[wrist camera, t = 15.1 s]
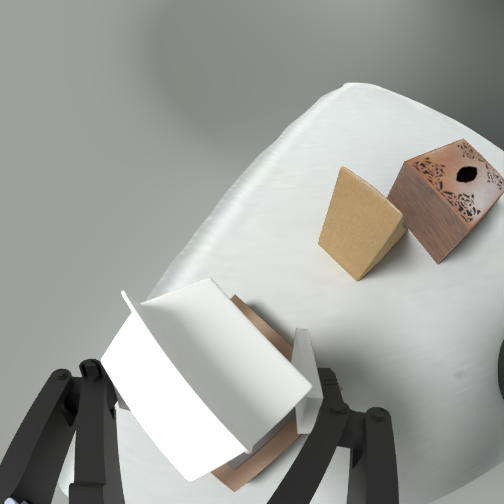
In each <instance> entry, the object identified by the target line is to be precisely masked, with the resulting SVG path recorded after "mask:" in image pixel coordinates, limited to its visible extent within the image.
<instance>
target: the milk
mask: <svg viewBox="0 0 504 504" xmlns="http://www.w3.org/2000/svg"><path fill="white" fill-rule="evenodd" d="M122 296H123V297H124V299H125V301H126V302H127V304H128V306H129V307H130V309H131V311H132V313H131V314H130V316H129V317H128V319H127V320H126V322H125V323H124V325H123V326H122V328H121V329H120V331H119V332H118V334H117V336H116V337H115V338H114V340H113V341H112V343H111V345H110V346H109V348H108V349H107V351H106V352H105V354H104V356H103V357H102V359H101V363H102V365H103V367H104V368H105V370H106V372H107V374H108V375H109V377H110V379H111V380H112V382H113V384H114V385H115V387H116V389H117V390H118V392H119V393H120V395H121V396H122V398H123V400H124V401H125V403H126V404H127V406H128V407H129V409H130V410H131V411H132V413H133V414H134V416H135V417H136V419H137V420H138V421H139V423H140V424H141V426H142V427H143V428H144V430H145V431H146V432H147V434H148V435H149V436H150V437H151V439H152V440H153V441H154V443H155V444H156V445H157V446H158V448H159V449H160V450H161V451H162V452H163V454H164V455H165V456H166V457H167V458H168V460H169V461H170V462H171V463H172V464H173V465H174V466H175V467H176V469H177V470H178V471H179V472H180V473H181V474H182V475H183V476H184V477H185V478H186V479H187V480H188V481H189V482H192V481H194V480H196V479H198V478H200V477H202V476H204V475H205V474H207V473H209V472H211V471H213V470H215V469H216V468H218V467H220V466H222V465H223V464H225V463H227V462H228V461H230V460H232V459H233V458H235V457H237V456H238V455H240V454H242V453H243V452H245V453H247V454H250V453H252V448H253V445H254V444H256V443H257V442H258V441H259V440H260V439H261V438H262V437H263V436H265V435H266V434H267V433H268V432H269V431H270V430H271V429H272V428H273V427H274V426H275V425H276V424H277V423H279V422H280V421H281V420H282V419H283V418H284V417H285V416H286V415H287V414H288V413H289V412H290V411H291V410H292V409H293V408H294V407H295V406H296V405H297V404H298V403H299V402H300V401H301V400H302V398H303V397H304V396H305V395H306V394H307V393H308V392H309V391H310V390H311V389H312V387H313V385H312V384H311V383H310V382H309V381H308V380H307V379H306V378H305V377H304V376H303V375H302V374H301V373H300V372H299V371H298V370H297V369H296V368H295V367H294V366H293V365H292V364H291V363H290V362H289V361H288V360H287V359H286V358H285V357H284V356H283V355H282V354H281V353H280V352H279V351H278V350H277V349H276V348H275V347H274V345H273V344H272V343H271V342H270V341H269V340H268V339H267V338H266V337H265V336H264V335H263V334H262V333H261V332H260V331H259V330H258V329H257V328H256V327H255V326H254V324H253V323H252V322H251V321H250V320H249V319H248V318H247V317H246V316H245V315H244V314H243V313H242V312H241V311H240V309H239V308H238V307H237V306H236V305H235V304H234V303H233V302H232V301H231V300H230V299H229V297H228V296H227V295H226V294H225V293H224V292H223V291H222V290H221V289H220V287H219V286H218V285H217V284H216V283H215V282H214V281H213V280H212V279H211V278H208V279H205V280H202V281H199V282H197V283H194V284H191V285H189V286H186V287H183V288H181V289H178V290H175V291H173V292H170V293H167V294H165V295H162V296H159V297H157V298H154V299H151V300H149V301H146V302H143V303H141V304H138V303H137V302H136V301H134V300H133V298H132V297H130V295H129V294H128V293H127V292H125V291H124V290H123V291H122Z"/></svg>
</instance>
